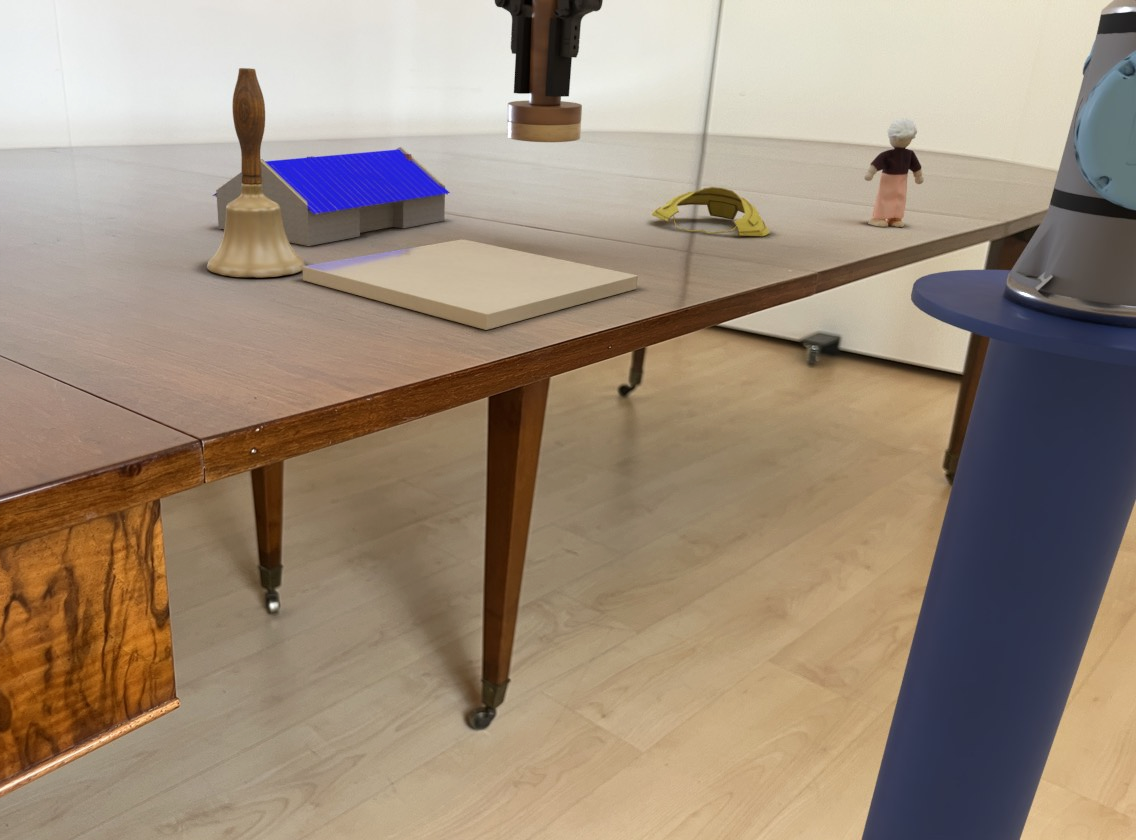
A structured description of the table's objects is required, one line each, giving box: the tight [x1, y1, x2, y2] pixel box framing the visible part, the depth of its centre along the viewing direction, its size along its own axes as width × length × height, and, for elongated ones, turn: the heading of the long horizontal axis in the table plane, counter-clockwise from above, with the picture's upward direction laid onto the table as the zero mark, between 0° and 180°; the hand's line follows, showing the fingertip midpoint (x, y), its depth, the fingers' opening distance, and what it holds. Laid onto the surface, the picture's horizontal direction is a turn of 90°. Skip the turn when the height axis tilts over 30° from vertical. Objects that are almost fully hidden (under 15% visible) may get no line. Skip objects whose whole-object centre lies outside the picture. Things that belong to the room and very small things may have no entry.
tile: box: [302, 238, 638, 331], centre depth 84 cm, size 20×20×1 cm
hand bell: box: [206, 67, 307, 278], centre depth 83 cm, size 8×8×16 cm
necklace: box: [651, 186, 771, 237], centre depth 116 cm, size 13×13×4 cm
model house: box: [212, 146, 451, 247], centre depth 105 cm, size 22×14×7 cm, turn 146°
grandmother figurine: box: [863, 117, 925, 228], centre depth 122 cm, size 8×4×13 cm, turn 111°
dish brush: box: [506, 0, 583, 143], centre depth 92 cm, size 7×7×13 cm
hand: (541, 94), depth 93 cm, fingers closed on dish brush, 3 cm apart
